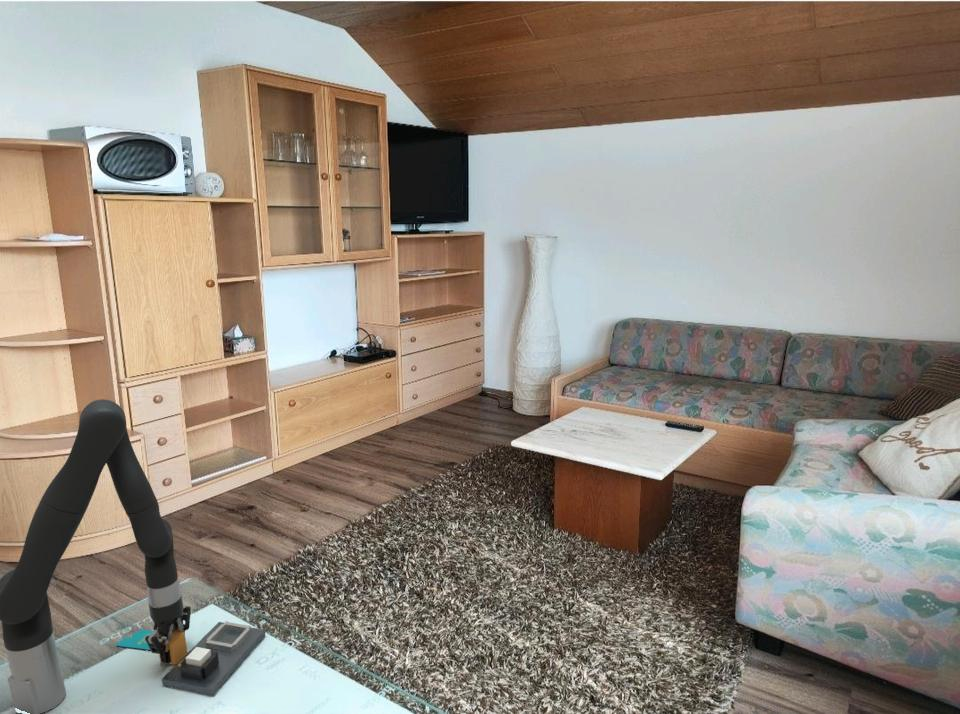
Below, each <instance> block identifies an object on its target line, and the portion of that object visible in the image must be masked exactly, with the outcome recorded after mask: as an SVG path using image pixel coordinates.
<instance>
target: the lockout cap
mask: <svg viewBox="0 0 960 714" xmlns="http://www.w3.org/2000/svg"><path fill="white" fill-rule="evenodd" d="M163 637H164V636H163ZM166 638H167V637H166ZM162 644H163V645H162V646H164V642H162ZM169 650H170V657H171V662H170V663H169V664H170V665H174V666H175V665H176V664H177V663H178V662H179V661H180V660H181V659H182V658H183V657H184V656H185V655H186V654H187V653H188V648H187V641H186V632H185V633H183V632H181V633H179V632H177V631H174V632H173V633H172V638H171V641H170V642H169ZM158 655H159V661H160V663H162V662H161V657H160V654H158ZM169 664H168V665H169Z"/></svg>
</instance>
